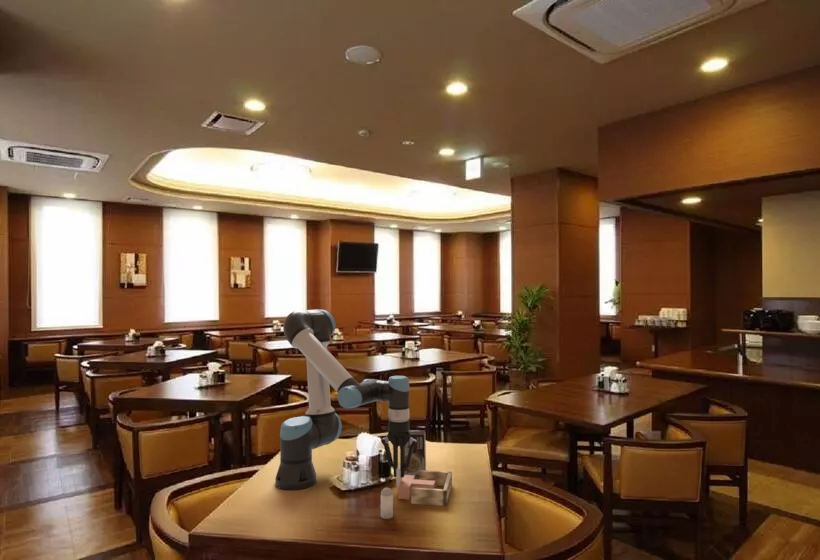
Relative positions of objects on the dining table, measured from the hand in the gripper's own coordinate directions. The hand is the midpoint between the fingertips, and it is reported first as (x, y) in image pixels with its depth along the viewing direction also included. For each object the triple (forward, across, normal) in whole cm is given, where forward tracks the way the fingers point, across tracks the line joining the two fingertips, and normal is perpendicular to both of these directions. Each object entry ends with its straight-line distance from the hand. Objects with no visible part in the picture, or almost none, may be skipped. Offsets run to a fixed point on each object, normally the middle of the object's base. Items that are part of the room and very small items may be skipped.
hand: (399, 486), depth 180 cm
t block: (+2, +7, 0) cm, 7 cm away
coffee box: (+2, +2, +20) cm, 20 cm away
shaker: (+2, 0, -20) cm, 20 cm away
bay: (+2, +12, 0) cm, 12 cm away
